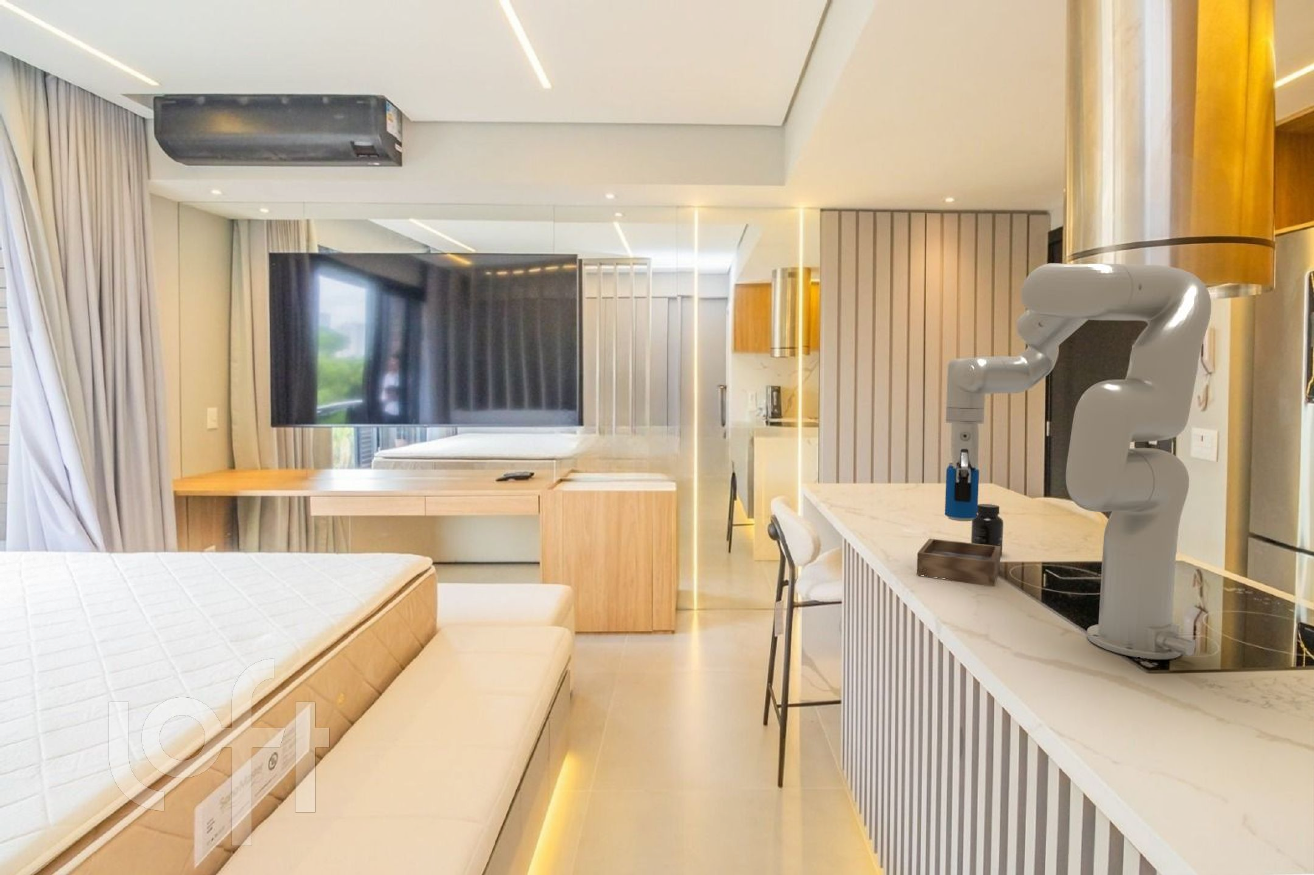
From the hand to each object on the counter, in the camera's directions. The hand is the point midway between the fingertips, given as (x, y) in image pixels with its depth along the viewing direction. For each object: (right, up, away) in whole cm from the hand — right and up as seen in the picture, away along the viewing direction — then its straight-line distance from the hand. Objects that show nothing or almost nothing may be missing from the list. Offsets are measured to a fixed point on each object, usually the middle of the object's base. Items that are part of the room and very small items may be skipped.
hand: (961, 497), depth 151 cm
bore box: (0, -16, +1) cm, 17 cm away
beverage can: (0, -5, 0) cm, 5 cm away
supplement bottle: (+13, -15, +16) cm, 25 cm away
